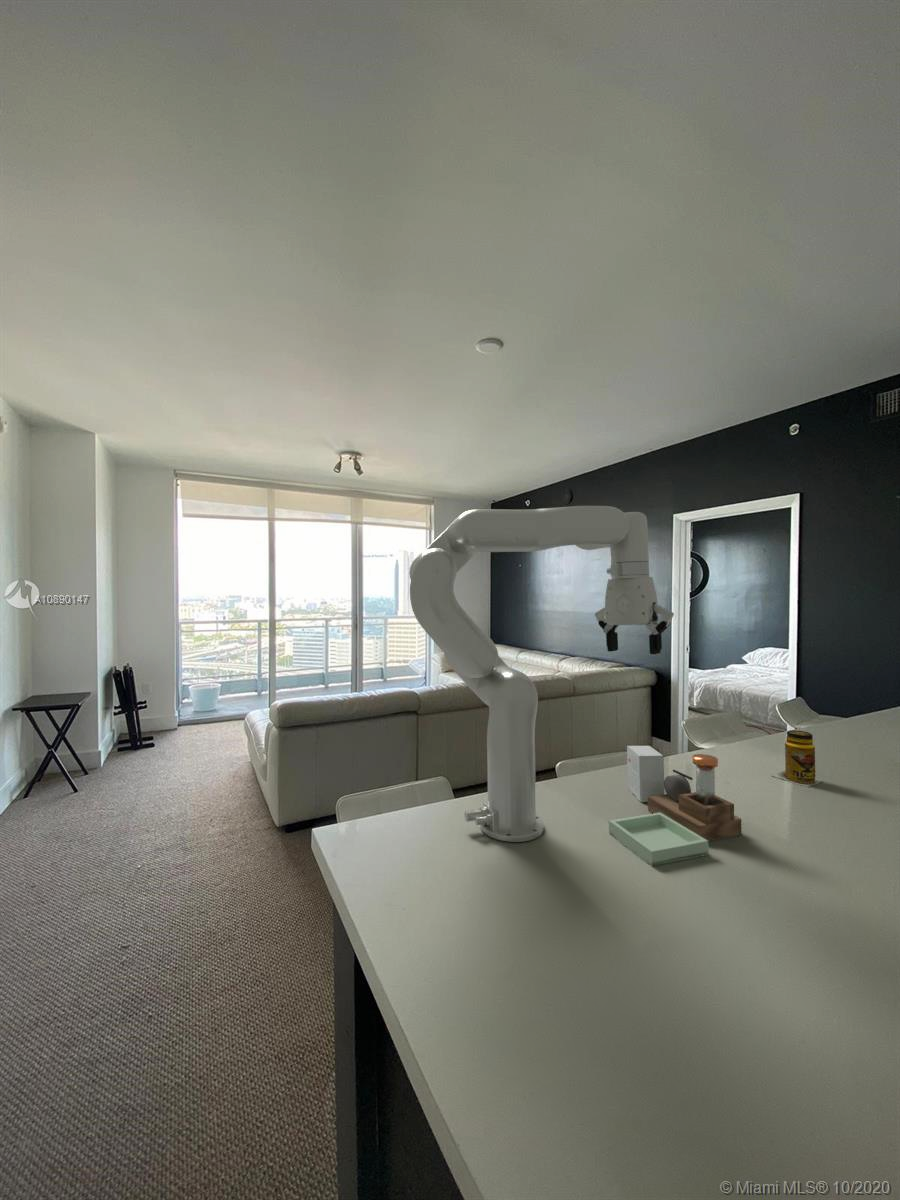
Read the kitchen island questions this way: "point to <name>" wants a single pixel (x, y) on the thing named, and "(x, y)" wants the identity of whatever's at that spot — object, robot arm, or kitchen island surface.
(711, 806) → the brown wooden stepped holder
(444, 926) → the kitchen island surface
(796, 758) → the condiment
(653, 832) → the tray
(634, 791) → the small box
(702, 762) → the lock pin
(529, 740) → the robot arm
